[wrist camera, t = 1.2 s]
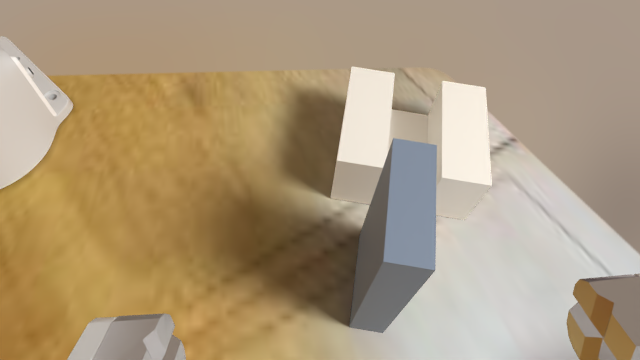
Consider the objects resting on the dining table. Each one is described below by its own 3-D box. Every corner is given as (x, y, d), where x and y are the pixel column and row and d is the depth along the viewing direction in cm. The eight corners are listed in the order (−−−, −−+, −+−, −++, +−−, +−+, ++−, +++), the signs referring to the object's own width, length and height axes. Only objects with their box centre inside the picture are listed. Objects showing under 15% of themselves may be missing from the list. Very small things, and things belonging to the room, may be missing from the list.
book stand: (330, 198, 46) (336, 160, 40) (344, 110, 52) (351, 66, 46) (464, 220, 45) (491, 185, 39) (462, 129, 52) (485, 87, 46)
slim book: (349, 327, 39) (383, 261, 25) (359, 235, 44) (393, 138, 30) (382, 332, 39) (435, 270, 25) (389, 240, 44) (436, 144, 30)
